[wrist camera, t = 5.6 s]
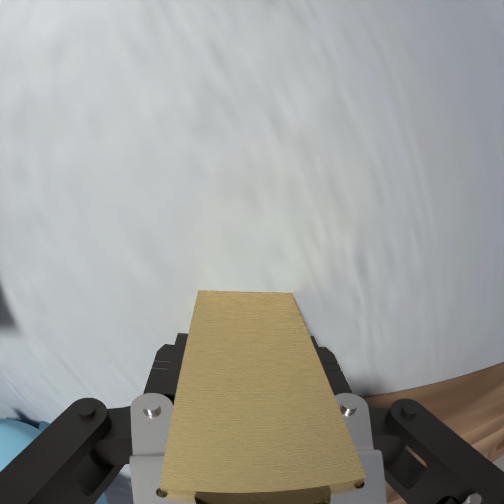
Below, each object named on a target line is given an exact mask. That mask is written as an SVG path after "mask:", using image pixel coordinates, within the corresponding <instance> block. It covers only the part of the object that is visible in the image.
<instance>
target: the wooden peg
mask: <svg viewBox="0 0 504 504" xmlns="http://www.w3.org/2000/svg"><path fill="white" fill-rule="evenodd" d="M365 479H366V475H365V473H364V470H363V468H362V465H361V462H360V460H359V457H358V455H357V452H356V449H355V447H354V444H353V442H352V439H351V437H350V434H349V432H348V429H347V426H346V424H345V421H344V419H343V416H342V414H341V411H340V409H339V406H338V404H337V401H336V399H335V396H334V394H333V391H332V389H331V387H330V384H329V382H328V379H327V377H326V374H325V372H324V369H323V367H322V365H321V362H320V360H319V357H318V355H317V352H316V350H315V348H314V345H313V343H312V340H311V338H310V336H309V333H308V331H307V328H306V326H305V324H304V321H303V319H302V317H301V314H300V312H299V309H298V307H297V305H296V302H295V300H294V298H293V295H292V293H261V292H228V291H202V290H198V295H197V299H196V303H195V307H194V312H193V316H192V320H191V325H190V329H189V334H188V338H187V343H186V347H185V352H184V356H183V361H182V366H181V371H180V376H179V380H178V385H177V390H176V395H175V400H174V406H173V411H172V416H171V422H170V427H169V432H168V438H167V444H166V450H165V455H164V461H163V468H162V474H161V480H160V490H161V492H162V494H163V496H164V497H166V496H168V494H174V495H183V496H194V498H195V502H196V504H315V503H322V502H325V499H326V497H327V496H328V494H329V493H330V491H331V490H334V489H340V488H345V487H350V486H354V487H355V488H359V487H360V485H361V484H362V483H363V481H364V480H365Z"/></svg>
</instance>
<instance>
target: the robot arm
mask: <svg viewBox="0 0 504 504" xmlns="http://www.w3.org/2000/svg"><path fill="white" fill-rule="evenodd" d="M187 338H188V334H185V333H178V335H177V338H176V342H175V345H169V344H165V345H164V346H162V347H161V348H160V349H159V350H158V351H157V354H156V357H155V360H154V363H153V366H152V369H151V372H150V375H149V378H148V381H147V384H146V387H145V390H144V393H143V395H140V396H138V397H137V398H136V399H134V401H133V402H132V404H131V406H128V407H124V408H113V409H107V408H106V406H105V405H104V404H103V403H102V402H101V401H99V400H97V399H94V398H83V399H79V400H77V401H75V402H74V403H73V404H71V405H70V406H69V407H68V408H67V409H66V410H65V411H64V412H63V413H62V414H61V415H60V416H59V417H58V418H56V419H55V420H54V421H53V422H52V423H51V424H50V425H49V426H48V427H47V428H46V429H45V430H44V431H43V432H42V433H40V434H39V435H38V436H37V437H36V438H35V439H34V440H33V441H32V442H31V443H30V444H29V445H28V446H27V447H26V448H25V449H24V450H22V451H21V452H20V453H19V454H18V455H17V456H16V457H15V458H14V459H13V460H12V461H11V462H10V463H9V464H8V465H7V466H6V467H5V468H4V469H3V470H2V471H0V504H95V503H96V501H97V500H98V499H99V498H100V496H101V495H102V494H103V492H104V491H105V490H106V489H107V487H108V486H109V485H110V483H111V482H112V481H113V479H114V478H115V477H116V476H117V474H118V473H119V472H120V470H121V469H122V468H123V466H124V465H125V464H130V474H131V484H132V493H133V501H134V504H196V502H195V498H194V496H183V495H174V494H168V496H166V497H164V496H163V494H162V492H161V490H160V480H161V474H162V468H163V461H164V455H165V450H166V444H167V438H168V432H169V427H170V422H171V416H172V411H173V406H174V400H175V395H176V390H177V385H178V380H179V376H180V371H181V366H182V361H183V356H184V352H185V347H186V343H187ZM310 338H311V340H312V343H313V345H314V348H315V350H316V352H317V355H318V357H319V360H320V362H321V365H322V367H323V369H324V372H325V374H326V377H327V379H328V382H329V384H330V387H331V389H332V391H333V394H334V396H335V399H336V401H337V404H338V406H339V409H340V411H341V414H342V416H343V419H344V421H345V424H346V426H347V429H348V432H349V434H350V437H351V439H352V442H353V444H354V447H355V449H356V452H357V455H358V457H359V460H360V462H361V465H362V468H363V470H364V473H365V475H366V479H365V480H364V481H363V483H362V484H361V485H360V487H359V488H355V487H354V486H350V487H345V488H340V489H334V490H331V491H330V493H329V494H328V496H327V497H326V499H325V502H322V503H315V504H387V501H386V488H385V481H386V482H387V483H388V484H389V485H390V486H391V487H392V488H393V489H394V490H395V491H396V492H397V493H398V494H399V495H400V496H401V498H402V499H403V500H404V501H405V502H406V503H407V504H504V472H503V471H501V470H500V469H499V468H498V467H497V466H495V465H494V464H493V463H492V462H491V461H489V460H488V459H487V458H486V457H484V456H483V455H482V454H481V453H479V452H478V451H477V450H476V449H475V448H473V447H472V446H471V445H470V444H468V443H467V442H466V441H465V440H464V439H462V438H461V437H460V436H459V435H457V434H456V433H455V432H454V431H453V430H451V429H450V428H449V427H448V426H446V425H445V424H444V423H443V422H442V421H440V420H439V419H438V418H437V417H436V416H434V415H433V414H432V413H431V412H430V411H428V410H427V409H426V408H425V407H423V406H422V405H421V404H420V403H418V402H417V401H415V400H412V399H399V400H396V401H395V402H394V403H393V404H392V405H391V407H390V409H389V408H376V407H370V406H368V405H367V403H366V401H365V400H364V399H363V398H361V397H359V396H358V395H355V394H352V392H351V389H350V387H349V385H348V383H347V381H346V379H345V377H344V375H343V373H342V371H341V369H340V366H339V364H337V363H338V362H337V360H336V358H335V356H334V354H333V353H332V352H330V351H329V350H328V349H327V348H326V347H318V345H317V343H316V341H315V338H314V337H313V336H310ZM407 446H408V447H409V448H410V449H411V450H412V451H413V452H415V453H416V454H417V455H418V456H419V457H420V458H421V459H422V460H423V461H424V462H425V463H426V465H427V468H426V467H425V466H424V465H423V464H422V463H421V462H420V461H419V460H417V459H416V458H415V457H414V456H413V455H412V454H411V453H410V452H409V451H408V450H407V449H406V448H407Z"/></svg>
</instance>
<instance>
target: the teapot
mask: <svg viewBox="0 0 504 504" xmlns="http://www.w3.org/2000/svg"><path fill="white" fill-rule="evenodd" d="M49 425H50V424H49V423H47V422H44V421H41V422H40V423H39V428H38V429H37V428H35V427H33V426H31V425H29V424H26V423H23V422H20V421H16V420H13V419H11V418H6V419H0V471H2V470H3V469H4V468H5V467H6V466H7V465H8V464H9V463H10V462H11V461H12V460H13V459H14V458H15V457H16V456H17V455H18V454H19V453H20V452H21V451H22V450H24V449H25V448H26V447H27V446H28V445H29V444H30V443H31V442H32V441H33V440H34V439H35V438H36V437H37V436H38V435H39V434H40V433H42V432H43V431H44V430H45V429H46V428H47V427H48V426H49ZM95 504H108V502H107V498H106V495H105V492H103V494H102V495H101V496H100V498H99V499H98V500H97V501H96V503H95Z"/></svg>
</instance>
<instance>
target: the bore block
mask: <svg viewBox="0 0 504 504" xmlns="http://www.w3.org/2000/svg"><path fill="white" fill-rule="evenodd" d="M363 399H364V400H365V401H366V403H367V405H368V406H370V407H376V408H389V409H390V407H391V405H392V404H393V403H394V402H395V401H396V400H399V399H412V400H415V401H417V402H418V403H420V404H421V405H422V406H423V407H425V408H426V409H427V410H428V411H430V412H431V413H432V414H433V415H434V416H436V417H437V418H438V419H439V420H440V421H442V422H443V423H444V424H445V425H446V426H448V427H449V428H450V429H451V430H453V431H454V432H455V433H456V434H457V435H459V436H460V437H461V438H462V439H464V440H465V441H466V442H467V443H468V444H470V445H471V446H472V447H473V448H475V449H476V450H477V451H478V452H479V453H481V454H482V455H483V456H484V457H486V458H487V459H488V460H489V461H491V462H493V461H495V460H496V459H498V458H499V457H501V456H502V455H504V362H503V363H500V364H497V365H494V366H492V367H489V368H486V369H483V370H480V371H477V372H474V373H470V374H467V375H464V376H460V377H457V378H453V379H450V380H446V381H442V382H439V383H435V384H431V385H426V386H422V387H418V388H413V389H408V390H404V391H399V392H393V393H388V394H382V395H376V396H370V397H363ZM406 449H407V450H408V451H409V452H410V453H411V454H412V455H413V456H414V457H415V458H416V459H417V460H419V461H420V462H421V463H422V464H423V465H424V466H425V467H426V468H427V465H426V463H425V462H424V461H423V460H422V459H421V458H420V457H419V456H418V455H417V454H416V453H415V452H413V451H412V450H411V449H410V448H409V447H408V446H407V448H406ZM385 488H386V501H387V504H407V503H406V502H405V501H404V500H403V499H402V498H401V496H400V495H399V494H398V493H397V492H396V491H395V490H394V489H393V488H392V487H391V486H390V485H389V484H388V483H387V482H386V481H385Z"/></svg>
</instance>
